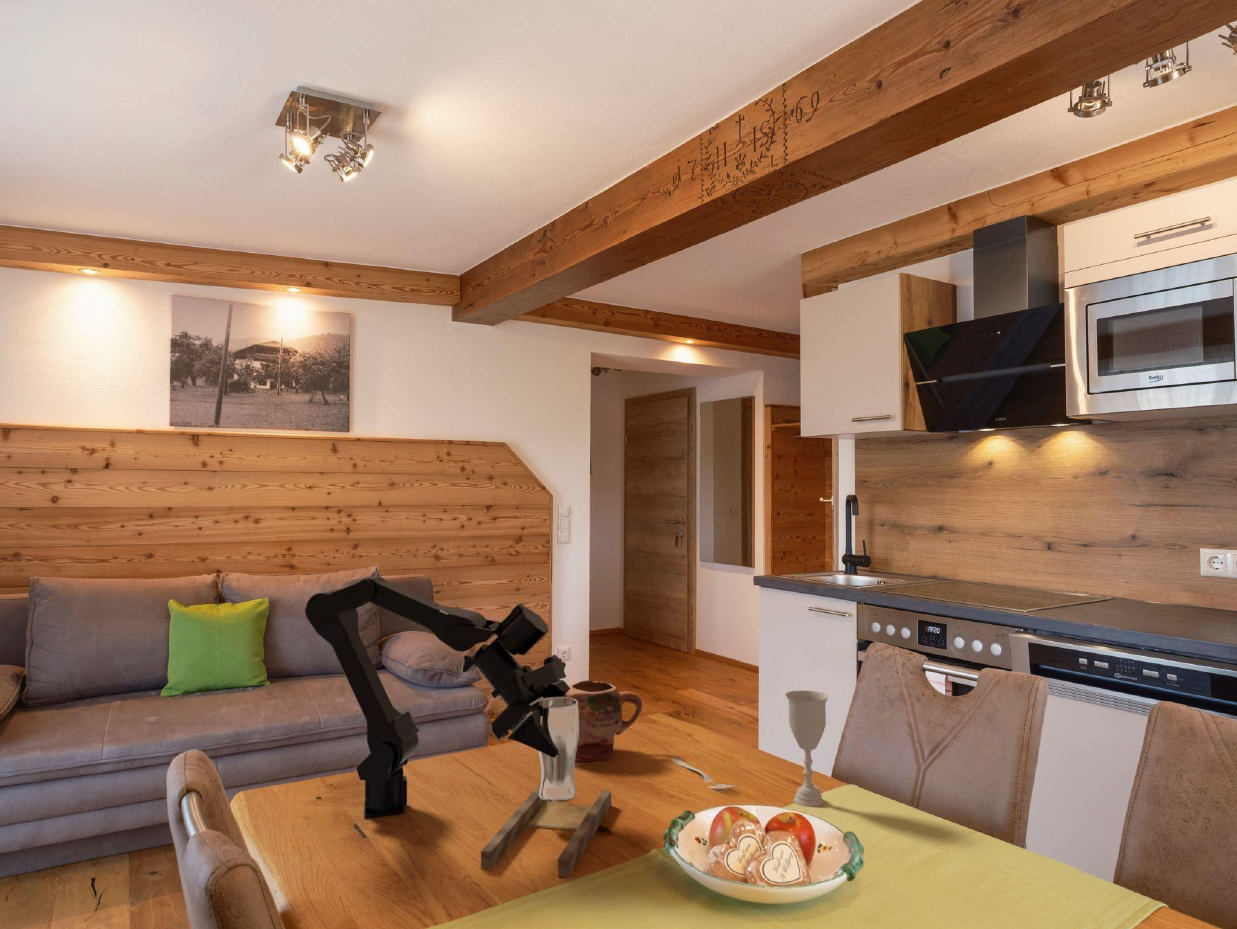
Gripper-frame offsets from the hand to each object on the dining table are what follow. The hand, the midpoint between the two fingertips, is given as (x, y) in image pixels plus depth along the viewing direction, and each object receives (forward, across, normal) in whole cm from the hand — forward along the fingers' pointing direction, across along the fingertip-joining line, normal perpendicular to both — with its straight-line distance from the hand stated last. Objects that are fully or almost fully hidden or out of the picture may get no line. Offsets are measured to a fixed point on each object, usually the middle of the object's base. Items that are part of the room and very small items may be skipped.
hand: (565, 748), depth 129 cm
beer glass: (+5, 0, +6) cm, 8 cm away
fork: (+19, +30, -1) cm, 36 cm away
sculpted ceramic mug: (+3, +35, +15) cm, 38 cm away
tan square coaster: (+8, +3, +10) cm, 13 cm away
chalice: (+34, +23, -16) cm, 44 cm away
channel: (+8, -4, +9) cm, 13 cm away
